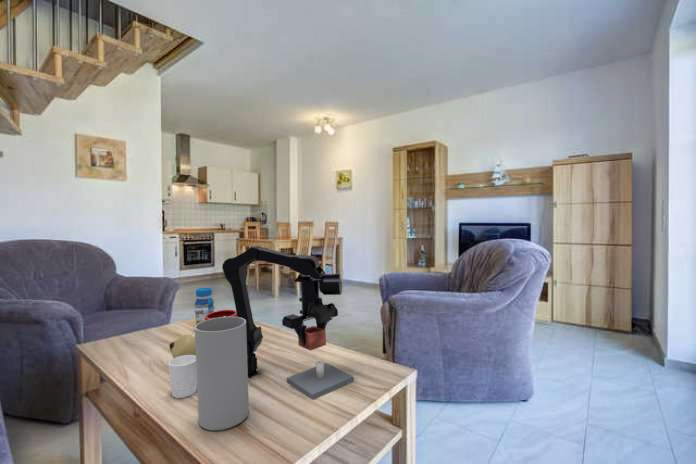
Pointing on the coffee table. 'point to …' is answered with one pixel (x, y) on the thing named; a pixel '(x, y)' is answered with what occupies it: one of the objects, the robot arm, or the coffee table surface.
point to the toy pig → (183, 346)
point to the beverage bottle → (203, 304)
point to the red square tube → (314, 338)
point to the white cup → (183, 376)
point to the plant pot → (221, 314)
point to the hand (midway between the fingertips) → (312, 342)
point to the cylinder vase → (221, 372)
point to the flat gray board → (319, 380)
